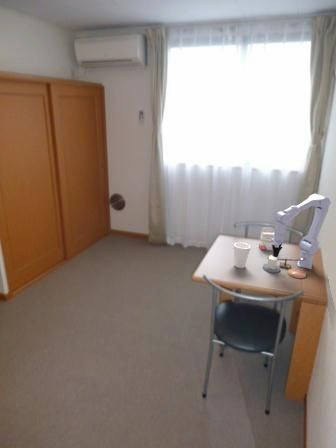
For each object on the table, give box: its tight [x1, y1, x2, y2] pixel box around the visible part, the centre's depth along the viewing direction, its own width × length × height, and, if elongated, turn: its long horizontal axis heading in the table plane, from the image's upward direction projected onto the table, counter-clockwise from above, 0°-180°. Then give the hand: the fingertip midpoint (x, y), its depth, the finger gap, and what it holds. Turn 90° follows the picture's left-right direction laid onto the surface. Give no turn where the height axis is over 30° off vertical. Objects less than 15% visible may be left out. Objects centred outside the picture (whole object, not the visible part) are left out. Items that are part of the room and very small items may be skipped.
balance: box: [266, 254, 306, 270], centre depth 195 cm, size 5×22×8 cm, turn 67°
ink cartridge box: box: [258, 226, 275, 251], centre depth 218 cm, size 9×5×15 cm, turn 92°
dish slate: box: [262, 263, 281, 274], centre depth 192 cm, size 10×10×1 cm
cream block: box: [267, 256, 279, 270], centre depth 191 cm, size 5×5×6 cm
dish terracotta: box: [286, 268, 307, 279], centre depth 187 cm, size 10×10×1 cm
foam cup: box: [233, 242, 251, 269], centre depth 192 cm, size 10×9×13 cm
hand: (276, 254), depth 189 cm, fingers open, 7 cm apart
